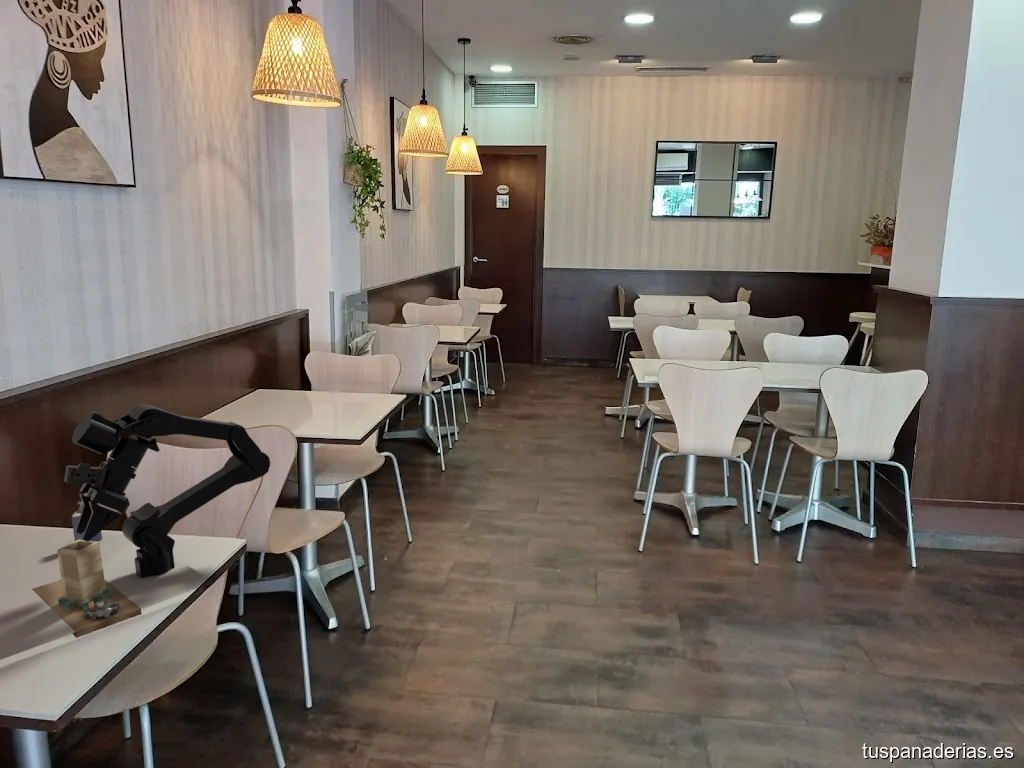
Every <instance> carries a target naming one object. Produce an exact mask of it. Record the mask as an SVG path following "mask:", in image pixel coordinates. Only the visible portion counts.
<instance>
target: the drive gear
mask: <svg viewBox="0 0 1024 768" xmlns="http://www.w3.org/2000/svg"><path fill="white" fill-rule="evenodd" d="M88 604H89V607H86V608H85V609H84V613H83V618H84V619H85V620H87V619H91V621H97V620H98V619H103V618H104V619H108V618H110V616H111V615H112V614H117V613H118V612H119V603H118V602H114V603H113V602H111V600H106V601H105V602H104V601H98V602H97V603H94V601H90V602H89V603H88Z"/></svg>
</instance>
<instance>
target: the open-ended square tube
mask: <svg viewBox="0 0 1024 768" xmlns="http://www.w3.org/2000/svg"><path fill="white" fill-rule="evenodd" d="M101 551H102V550H101V544H100V541H99V542H96V541H85V540H76V541H75V540H74V541H72V542H71V543H68V544H66V545H65V546H62V547H60V548H59V549H57V550H56V552H57V557H58V558H57V559H58V564H59V565H58V566H59V572H60V578H61V579H60V580H62V586H63V593H64V596H63V597H59V598H58V602H59V606H61V605H64V609H65V610H71V609H73V608H74V607H76V606H78V605H80V606H82V607H83V609H85V608H86V607H89V604H88V603H89V602H90V601H94V602H98V601H104V602H105V601H106V600H107V595H111V594H112V590H111V586H109V587H106V583H105V580H106V579H105V575H104V566H103V559H102V552H101ZM104 579H105V580H104Z"/></svg>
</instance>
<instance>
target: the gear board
mask: <svg viewBox="0 0 1024 768" xmlns="http://www.w3.org/2000/svg"><path fill="white" fill-rule="evenodd" d="M104 580H105V583H106V587H109V586H111V590H112V594H111V595H107V600H111V602H113V603H114V602H118V603H119V612H118V613H117V614H112V615H111V616H110V618H108V619H104V618H103V619H98V620H97V621H91V619H87V620H85V619H84V618H83V613H84V609H83V607H82V606H80V605H78V606H76V607H74V608H73V609H71V610H65V609H64V605H61V606H59V602H58V598H59V597H63V596H64V593H63V586H62V580H61V579H58V580H55V581H53V582H50V583H46V584H43V585H40V586H36V587H33V588H32V590H33V591H34V592H35V593H36V594H37V596H39V597H40V599H41V600H42V601H43V602H44V603H46V604H47V605H48V606H49V607H50V608H51V610H53V612H55V613H56V614H57V615H58V616H59V617H60V618H61V620H63V621H64V622H65V623H66V624H67V625H68V626H69V627H70V628H71V629H72V630H73V631H74V632H73V633H72V635H73V636H74V637H75V639H77V638H80V637H83V636H85V635H88V634H91V633H93V631H94V632H97V631H99V630H101V629H104V628H108V627H111V626H113V625H115V624H118V622H119V623H121V622H124V621H127V620H130V619H133V618H135V617H137V616H140V615H142V608H141V607H140V606H139V605H137V604H136V603H135V602H134V601H132V600H131V598H129V597H128V596H127V595H125V594H124V593H123V592H121V591H120V590H119V589H117V588H116V586H114V585H113V584H111V583H110V582H109V581H107V580H106V579H105V578H104ZM94 603H97V602H94ZM129 618H130V619H129ZM107 626H108V627H107Z"/></svg>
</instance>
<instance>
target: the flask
mask: <svg viewBox="0 0 1024 768" xmlns="http://www.w3.org/2000/svg"><path fill="white" fill-rule="evenodd" d="M77 505H79V506H78V508H79V509H78V510H76V511H75V512H74V513H73V514H72V515H71V523H72V530H73V537H74V541H76V540H83V536H84V533H85V531H84V532H83V533H82V534H79V533H77V532H76V530H77V526H78V523H79V519H80V516H81V512H82V508H83V502H82V500H80V501H78V502H77ZM101 539H102V540H103V534H102V531H100V532H99V533H98V534H97V535H96V536H94V537H93V538H92V539H91V540H89V541H96V542H98V541H99V542H101Z"/></svg>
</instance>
